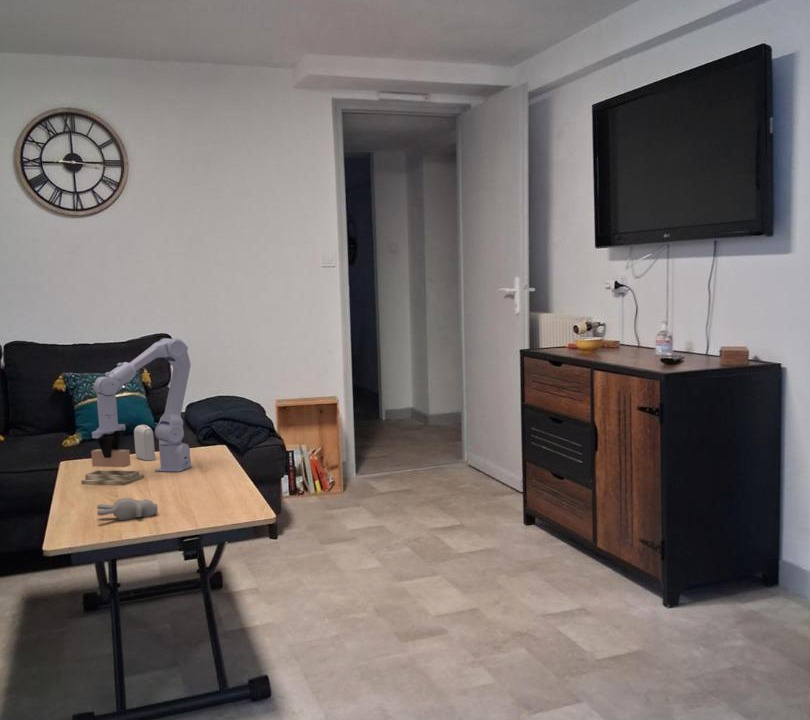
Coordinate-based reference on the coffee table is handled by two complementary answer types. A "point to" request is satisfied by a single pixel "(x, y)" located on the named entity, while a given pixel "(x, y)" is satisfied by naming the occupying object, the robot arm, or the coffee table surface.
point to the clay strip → (117, 458)
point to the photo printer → (144, 442)
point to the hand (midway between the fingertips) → (111, 456)
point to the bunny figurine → (128, 508)
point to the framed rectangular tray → (112, 477)
